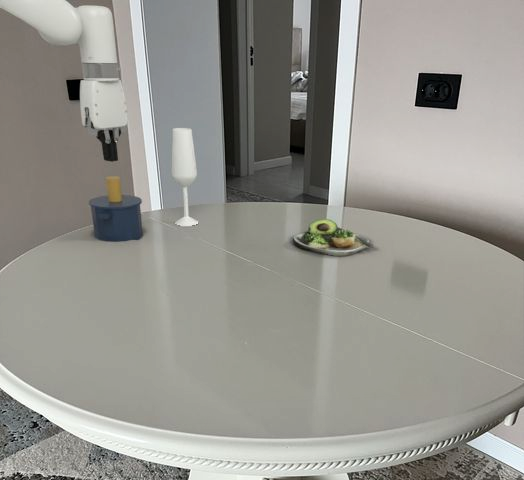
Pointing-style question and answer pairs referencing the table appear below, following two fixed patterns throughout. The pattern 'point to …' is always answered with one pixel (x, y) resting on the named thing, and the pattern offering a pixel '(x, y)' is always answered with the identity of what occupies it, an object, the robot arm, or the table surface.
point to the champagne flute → (184, 167)
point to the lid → (114, 197)
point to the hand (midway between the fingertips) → (111, 160)
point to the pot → (117, 224)
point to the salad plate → (331, 239)
